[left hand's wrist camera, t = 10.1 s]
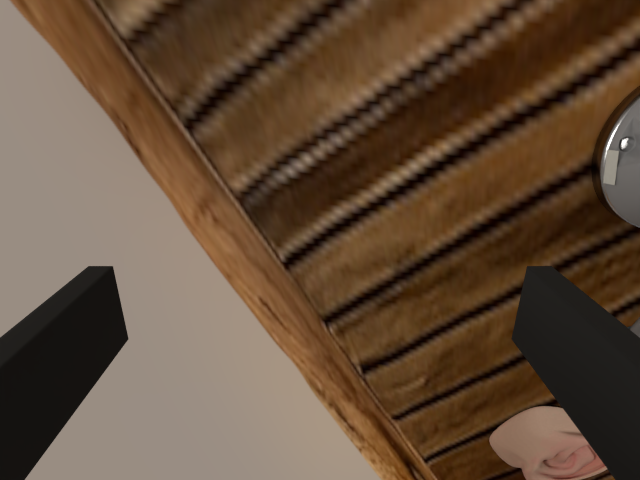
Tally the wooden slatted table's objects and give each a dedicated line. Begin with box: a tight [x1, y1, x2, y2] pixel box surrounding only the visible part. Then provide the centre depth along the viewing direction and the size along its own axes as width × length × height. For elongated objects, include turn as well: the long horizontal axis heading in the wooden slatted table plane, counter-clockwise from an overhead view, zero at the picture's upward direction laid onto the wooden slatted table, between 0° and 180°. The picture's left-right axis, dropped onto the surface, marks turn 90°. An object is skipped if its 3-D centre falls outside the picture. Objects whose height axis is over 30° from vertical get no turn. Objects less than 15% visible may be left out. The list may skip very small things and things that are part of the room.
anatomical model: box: [489, 406, 607, 480], centre depth 50 cm, size 13×4×12 cm
